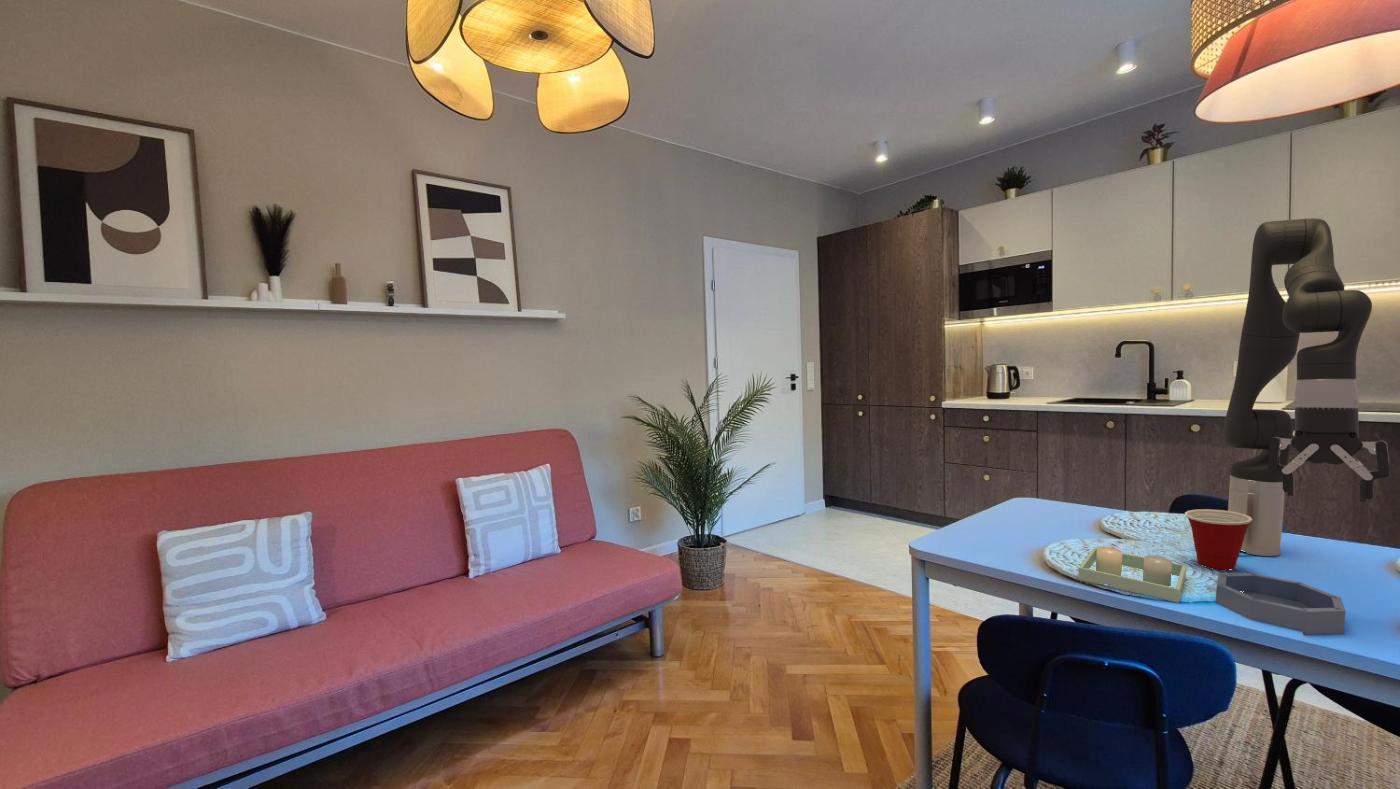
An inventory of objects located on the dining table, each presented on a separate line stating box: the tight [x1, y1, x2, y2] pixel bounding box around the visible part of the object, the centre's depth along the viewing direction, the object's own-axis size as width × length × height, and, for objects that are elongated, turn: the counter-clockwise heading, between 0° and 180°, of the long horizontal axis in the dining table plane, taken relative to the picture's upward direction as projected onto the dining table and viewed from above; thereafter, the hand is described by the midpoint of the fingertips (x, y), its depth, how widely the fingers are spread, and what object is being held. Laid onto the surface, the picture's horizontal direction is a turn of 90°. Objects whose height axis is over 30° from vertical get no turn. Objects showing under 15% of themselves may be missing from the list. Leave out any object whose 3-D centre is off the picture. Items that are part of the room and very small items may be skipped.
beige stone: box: [1096, 546, 1123, 576], centre depth 121 cm, size 4×4×5 cm
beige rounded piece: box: [1143, 555, 1173, 586], centre depth 115 cm, size 4×4×5 cm
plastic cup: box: [1184, 508, 1252, 571], centre depth 124 cm, size 11×11×12 cm
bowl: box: [1215, 572, 1347, 636], centre depth 104 cm, size 16×16×4 cm
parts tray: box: [1077, 547, 1187, 604], centre depth 118 cm, size 16×16×3 cm
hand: (1326, 498), depth 100 cm, fingers open, 8 cm apart
